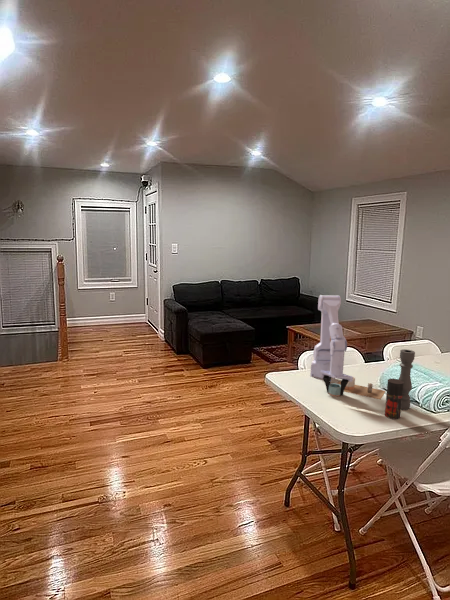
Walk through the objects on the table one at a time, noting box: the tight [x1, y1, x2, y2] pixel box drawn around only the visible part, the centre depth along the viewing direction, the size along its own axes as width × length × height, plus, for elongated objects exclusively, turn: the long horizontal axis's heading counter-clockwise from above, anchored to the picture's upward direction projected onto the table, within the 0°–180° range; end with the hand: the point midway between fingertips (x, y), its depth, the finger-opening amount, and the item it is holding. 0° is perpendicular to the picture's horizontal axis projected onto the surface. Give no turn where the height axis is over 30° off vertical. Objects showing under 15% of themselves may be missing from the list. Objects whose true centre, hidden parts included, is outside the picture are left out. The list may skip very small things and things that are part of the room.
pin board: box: [336, 381, 386, 400], centre depth 192 cm, size 22×12×5 cm, turn 59°
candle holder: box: [397, 349, 416, 411], centre depth 175 cm, size 6×6×25 cm
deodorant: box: [384, 378, 404, 420], centre depth 167 cm, size 6×6×15 cm
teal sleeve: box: [327, 383, 342, 397], centre depth 187 cm, size 6×6×5 cm
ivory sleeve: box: [345, 375, 356, 390], centre depth 194 cm, size 6×6×5 cm
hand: (334, 393), depth 187 cm, fingers closed on teal sleeve, 6 cm apart
